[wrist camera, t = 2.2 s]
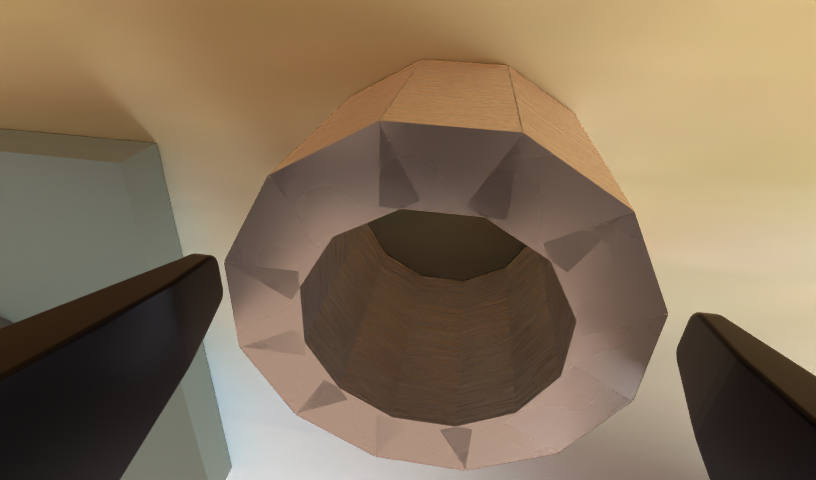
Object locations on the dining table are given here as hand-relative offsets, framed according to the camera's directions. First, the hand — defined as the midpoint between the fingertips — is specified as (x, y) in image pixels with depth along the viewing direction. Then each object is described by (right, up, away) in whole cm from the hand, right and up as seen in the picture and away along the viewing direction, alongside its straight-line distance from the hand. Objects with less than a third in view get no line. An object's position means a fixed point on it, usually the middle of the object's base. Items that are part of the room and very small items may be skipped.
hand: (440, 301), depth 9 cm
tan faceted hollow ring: (+1, +2, +3) cm, 4 cm away
